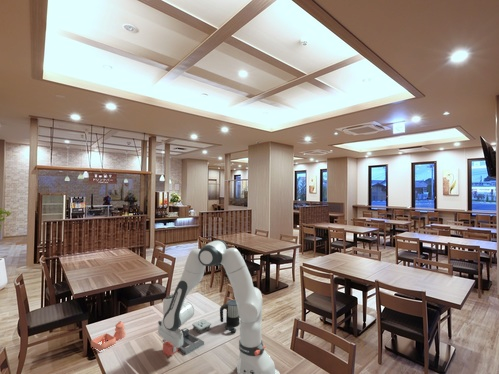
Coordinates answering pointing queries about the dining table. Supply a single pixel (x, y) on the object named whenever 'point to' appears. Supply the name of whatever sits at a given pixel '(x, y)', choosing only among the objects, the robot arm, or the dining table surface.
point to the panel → (190, 343)
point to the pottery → (109, 338)
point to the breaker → (185, 332)
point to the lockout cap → (168, 348)
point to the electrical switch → (201, 326)
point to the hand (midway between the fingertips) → (170, 348)
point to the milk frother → (230, 315)
